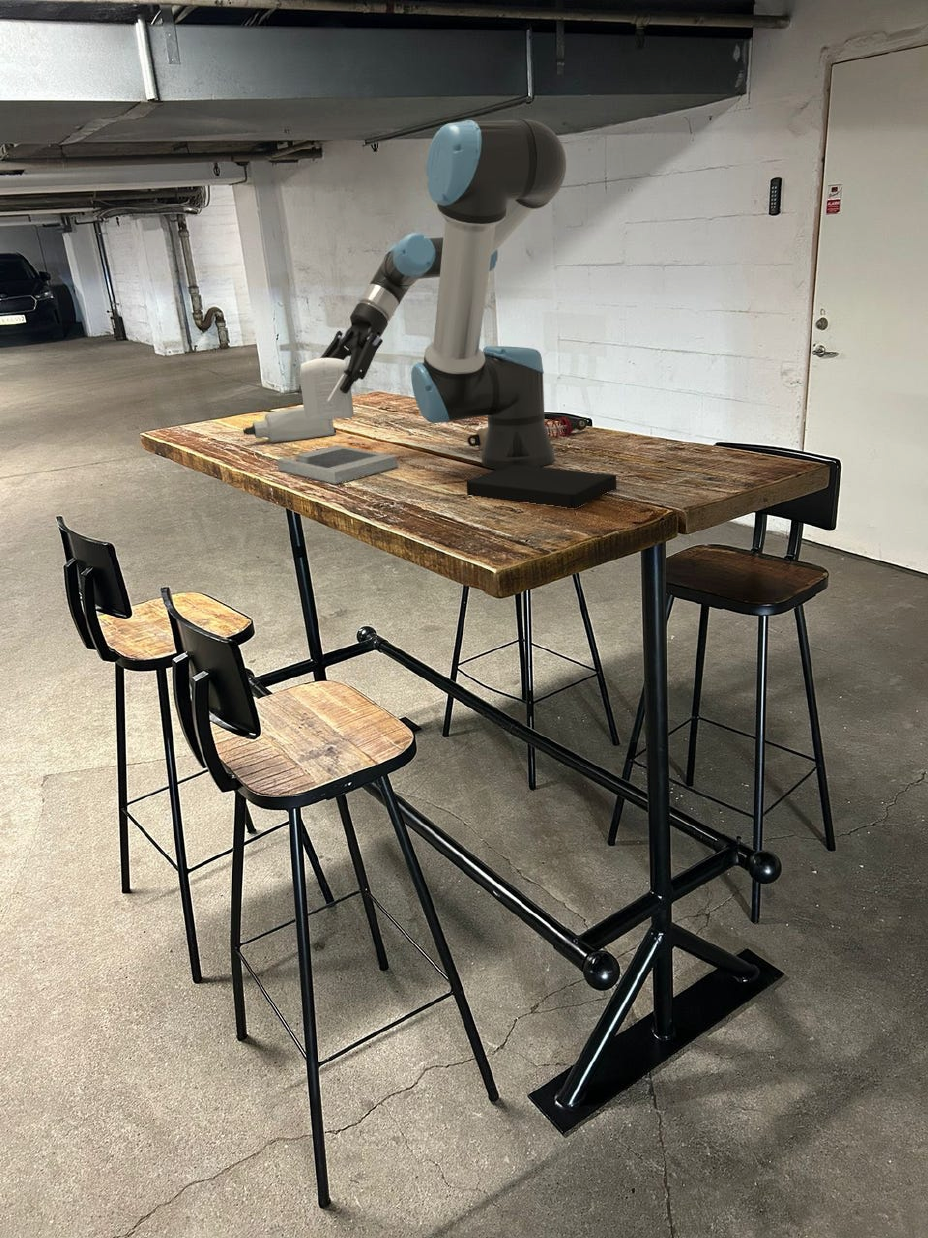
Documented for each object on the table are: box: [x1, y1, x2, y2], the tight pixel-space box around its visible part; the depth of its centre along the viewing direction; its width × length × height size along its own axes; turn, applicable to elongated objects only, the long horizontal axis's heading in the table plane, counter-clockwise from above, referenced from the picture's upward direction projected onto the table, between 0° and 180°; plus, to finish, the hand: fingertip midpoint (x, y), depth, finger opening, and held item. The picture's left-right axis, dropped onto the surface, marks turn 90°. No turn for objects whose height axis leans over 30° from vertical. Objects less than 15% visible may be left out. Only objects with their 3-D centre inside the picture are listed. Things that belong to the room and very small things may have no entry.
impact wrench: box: [242, 406, 337, 444], centre depth 233 cm, size 8×23×25 cm
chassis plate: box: [276, 444, 399, 485], centre depth 191 cm, size 22×16×2 cm
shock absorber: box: [466, 416, 588, 450], centre depth 202 cm, size 5×5×30 cm
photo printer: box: [299, 357, 355, 421], centre depth 185 cm, size 10×4×12 cm, turn 98°
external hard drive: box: [465, 464, 617, 510], centre depth 162 cm, size 14×23×3 cm, turn 52°
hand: (320, 402), depth 185 cm, fingers closed on photo printer, 8 cm apart
